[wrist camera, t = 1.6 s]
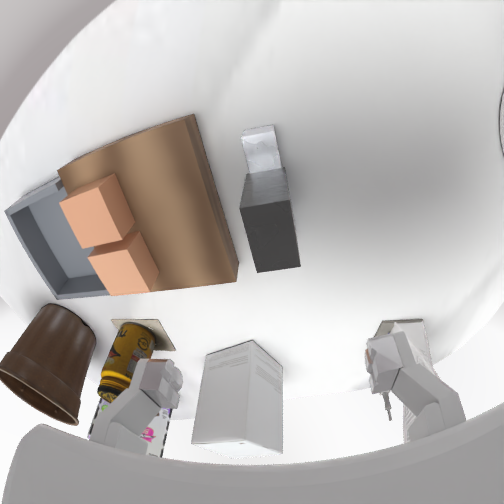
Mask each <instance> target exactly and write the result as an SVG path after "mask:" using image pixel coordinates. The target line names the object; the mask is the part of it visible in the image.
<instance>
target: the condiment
mask: <svg viewBox="0 0 504 504" xmlns="http://www.w3.org/2000/svg"><path fill="white" fill-rule="evenodd" d="M111 321H112V322H113V324H114V325H115V327H116V328H117V329H118V330H119V332H118V334H117V336H116V338H115V340H114V343H113V345H112V348H111V350H110V352H109V355H108V357H107V360H106V362H105V364H104V366H103V369H102V372H101V377H102V379H101V381H100V385H99V387H98V391H97V392H98V394H99V396H100V397H101V398H102V399H103V400H105V401H107V402H108V403H110V404H111V403H112V402H113V401H114V400H115V399H116V398H117V397H118V396H119V395H120V394H121V393H122V392H123V391H124V390H125V389H126V388H129V387H130V383H131V380H132V377H133V374H134V371H135V368H136V365H137V362H138V361H139V360H140V359H151V356H152V353H153V350H156V351H157V350H161V351H162V350H165V351H175V349H174V346H173V345H172V343H171V341H170V339H169V338H168V336H167V334H166V332H165V331H164V329H163V327H162V325H161V324H160V323H159V321H158V320H131V319H129V320H128V319H127V320H125V319H124V320H123V319H119V320H117V319H113V320H111ZM148 327H149V328H148ZM151 328H152V329H153V330H152V329H151ZM155 344H156V345H155Z"/></svg>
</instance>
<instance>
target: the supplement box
mask: <svg viewBox="0 0 504 504" xmlns="http://www.w3.org/2000/svg"><path fill="white" fill-rule="evenodd" d="M191 444H193V445H195V446H198V447H201V448H203V449H206V450H209V451H212V452H215V453H217V454H220V455H224V456H226V457H229V458H247V457H261V456H272V455H279V454H282V453H283V382H282V366H281V365H280V364H278V363H277V362H276V361H275V360H274V359H273V358H272V357H270V356H269V355H268V354H267V353H266V352H265V351H264V350H262V349H261V348H260V347H259V346H258V345H257V344H256V343H255V342H254V341H249V342H246V343H243V344H241V345H238V346H234V347H231V348H228V349H225V350H222V351H219V352H216V353H213V354H209V355H206V359H205V365H204V370H203V376H202V381H201V387H200V393H199V399H198V405H197V411H196V416H195V422H194V428H193V434H192V440H191Z"/></svg>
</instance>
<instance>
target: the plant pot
mask: <svg viewBox="0 0 504 504" xmlns="http://www.w3.org/2000/svg"><path fill="white" fill-rule="evenodd" d="M95 345H96V339H95V336H94V334H93V332H92V330H91V329H90V328H89V327H88V326H85V325H84V324H83V323H82V321H81V319H80V318H79V317H78V316H77V315H75V314H74V313H72V312H70V311H69V310H67V309H65V308H63V307H61V306H58V305H54V304H48V305H46V306H45V307H42V308H41V310H40V311H39V313H38V314H37V315H36V317H35V318H34V319H33V320H32V322H31V323H30V324H29V326H28V327H27V329H26V330H25V332H24V333H23V334H22V336H21V337H20V338H19V340H18V341H17V343H16V344H15V345H14V347H13V348H12V350H11V351H10V352H7V354H6V355H5V356H4V358H3V360H2V361H1V362H0V380H1V381H2V382H3V383H4V384H5V385H6V386H7V387H8V388H9V389H10V390H11V391H12V392H13V393H14V394H15V395H17V396H18V397H19V398H21V399H22V400H23V401H25V402H26V403H28V404H29V405H31V406H32V407H34V408H35V409H37V410H38V411H40V412H42V413H44V414H46V415H48V416H49V417H51V418H53V419H56V420H58V421H61V422H63V423H66V424H69V425H74V426H77V425H78V424H79V421H78V419H77V418H78V413H79V408H80V404H81V401H80V396H81V392H82V388H83V384H84V380H85V377H86V373H87V370H88V367H89V363H90V360H91V357H92V354H93V351H94V348H95Z"/></svg>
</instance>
